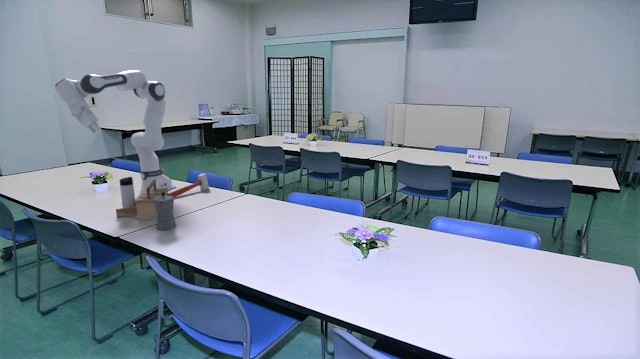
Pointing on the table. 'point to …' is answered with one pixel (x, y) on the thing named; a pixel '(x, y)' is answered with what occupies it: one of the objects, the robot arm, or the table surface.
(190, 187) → the mallet
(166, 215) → the coffeepot
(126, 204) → the travel mug
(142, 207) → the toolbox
